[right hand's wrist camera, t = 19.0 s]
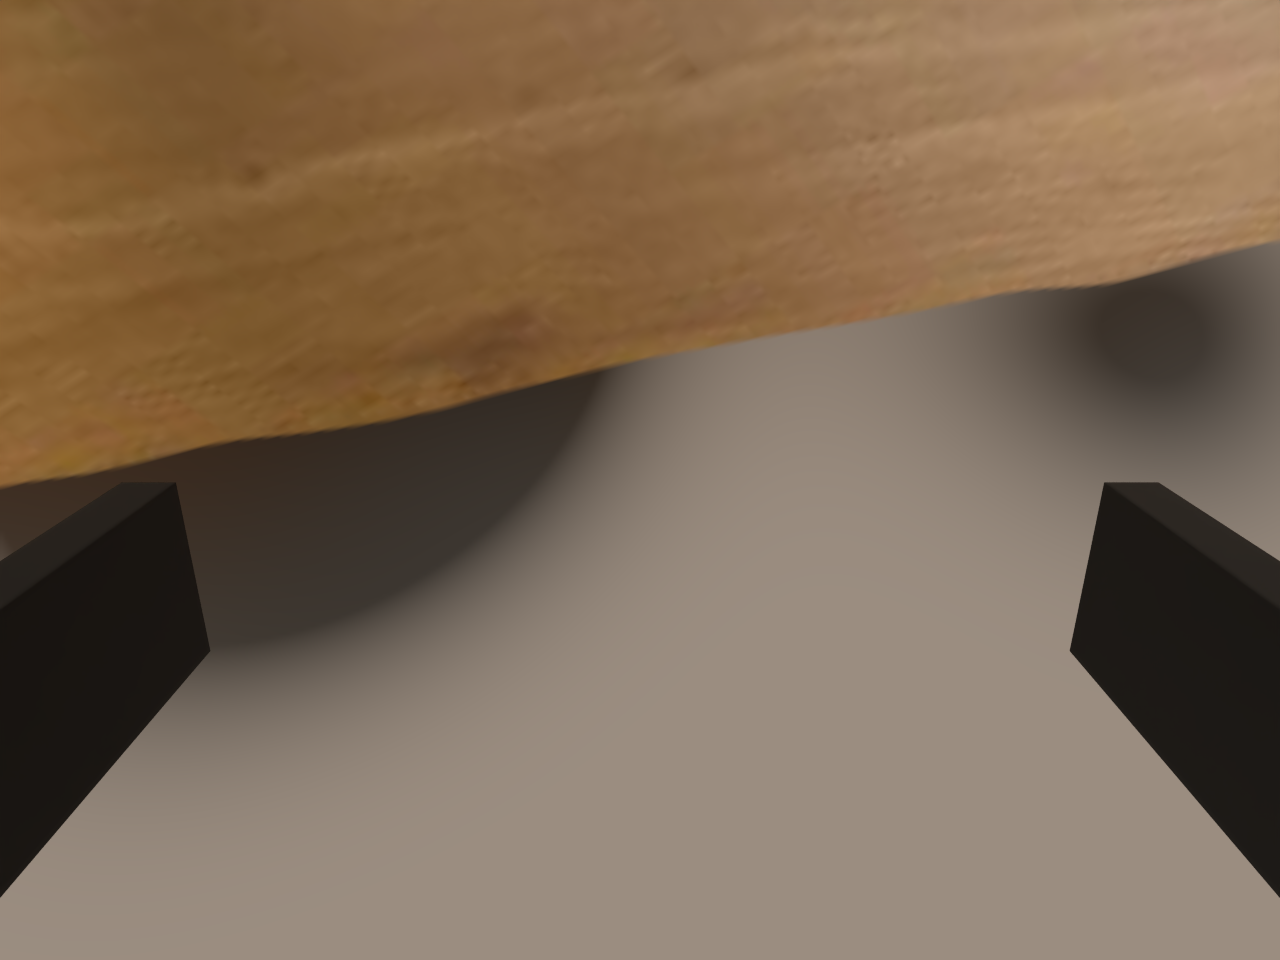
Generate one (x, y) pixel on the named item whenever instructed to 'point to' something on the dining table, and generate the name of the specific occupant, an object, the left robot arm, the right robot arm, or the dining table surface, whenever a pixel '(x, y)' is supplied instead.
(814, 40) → the dining table surface
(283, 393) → the dining table surface
